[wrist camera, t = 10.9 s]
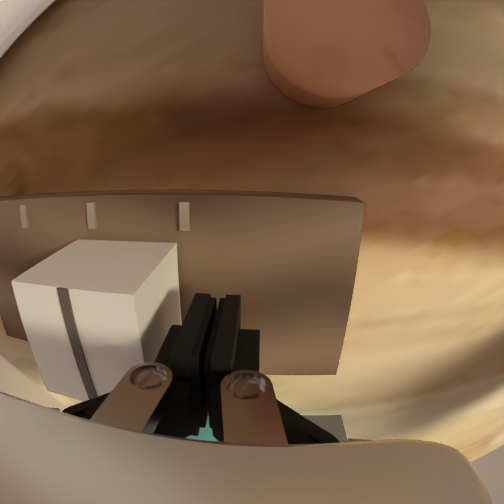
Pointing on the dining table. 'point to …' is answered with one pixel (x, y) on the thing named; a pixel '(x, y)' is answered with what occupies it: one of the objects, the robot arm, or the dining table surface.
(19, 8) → the plate
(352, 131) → the dining table surface
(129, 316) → the slider
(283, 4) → the peach domed cylinder
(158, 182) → the dining table surface
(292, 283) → the rail
